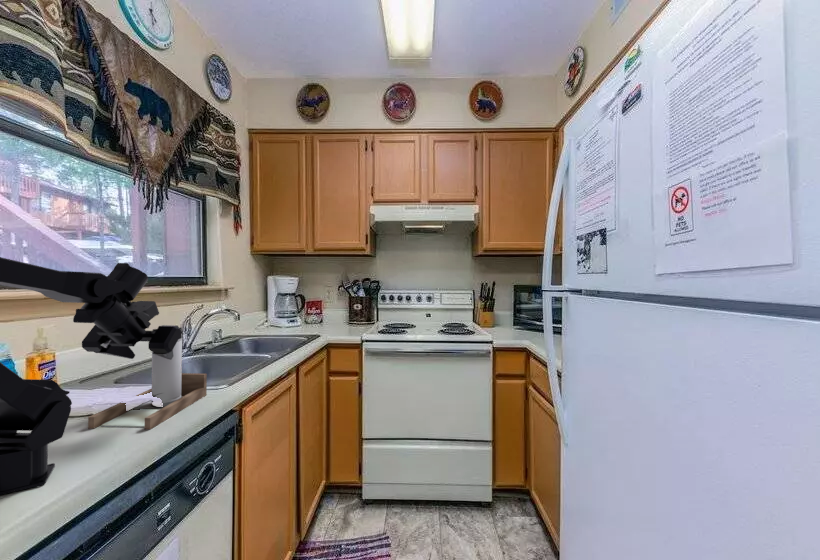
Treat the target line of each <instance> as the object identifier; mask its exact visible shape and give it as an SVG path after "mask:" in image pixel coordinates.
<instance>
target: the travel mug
mask: <svg viewBox="0 0 820 560" xmlns="http://www.w3.org/2000/svg"><path fill="white" fill-rule="evenodd" d="M179 328H180V329H181V331H182V332H183V328H182V327H179ZM156 330H157V328H154V329H152V330H151V331H156ZM173 355H174V356H173V358H172V360H169V359H166V358H163V357H160V356H158V355H155V354H153V352H152V351H151V388H152V396H153V397H157V398H160V399H161V400H162V403H163V407H162V408H164V407H166V406H167V405H169V404H171V403H173V402H175V401H176V400H178V399H180V398H182V396H181V382H182V373H183V372H182V370H183V369H182V368H183V367H182V362H183V361H182V359H183V335H182V334H181V336H180V338H179V339H178V341H177V343H176V345H175V346H174V348H173Z"/></svg>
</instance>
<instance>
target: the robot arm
mask: <svg viewBox="0 0 820 560" xmlns="http://www.w3.org/2000/svg"><path fill="white" fill-rule="evenodd" d="M148 281H149V276H148V275H147V273H146V272H143V271H142V270H140V269H139V268H136V267H134V266H130V264H129V263H128V262H118V263H117V264H116V265H115V266H114V267H113V269H112V270H111V272H110V273H109V274H108V275H107V276H106V275H105V273H104V274H103V273H101V272H89V271H87V272H86V271H72V270H71V271H65V270H57V269H53V268H49V267H44V266H39V265H36V264H31V263H27V262H24V261H18V260H14V259H11V258H10V259H9V258H6V257H1V256H0V286H3V287H4V286H5V287H10V288H16V289H22V290H29V291H34V292H36V293H40V294H42V295H43V296H44V297H46V298H49V299H52V300H55V301H58V302H59V303H74V304H76V303H77V304H78V303H80V304H81V303H82V304H83V305H82V306H81V307H80V308H76V309H75V314H74V315H73V318H72V319H73V320H72V322H73V323H76V324H94V325H93V327H92V328H91V329H90V330H89V332H88V333H87V334H86V336H85V337H84V338H83V340H82V341H81V348H83V350H85V352H88V353H89V352H90V353H95V354H102V355H107V356H114V357H120V358H124V359H129V360H130V359H131V360H133V359H135V357H136V354H135V353H134V351H133V350H132V349H131V347H135V346H136V345H137V343H139V342H147V343H148V350H150V352H151V353H152V352H153V354H155V355H158V356H160V357H163V358H166V359H169V360H172V358H173V356H174V355H173V348H174V346H175V345H176V343H177V341H178V339H179V338H180V336H181V335H182V334H183V330H182V331H181V329H180V328H181V327H180V326H179V325H172V324H171V325H165V324H164V325H159V326H158V327H157V328H156V329H157V330H156V331H152V330H146V329H149V328H150V326H151V325H152V324H151V322H150V321H151V320H152V319H153V318H155V317H156V316H159V314H160V311H159V308H158V305H157V302H156V301H155V300H138V301H133V300H135V298H136V297H137V296H138V294H139V293H140V292H141V290H142V289H143V288H144V286H145V285H146V284H147V282H148ZM68 395H70V391H68V390H64V389H63V388H62V387H61V386H60V385H59V384H58V382H56V381H55V380H53V379H37V378H36V379H32V378H31V379H30V378H28V379H27V378H25V379H24V378H23V377H21V376H20V375H18V374H17V373H15V372H14V371H13V370H11V369H10V368H8V366H6V365H5V364H4V363H2V362H1V361H0V496H3V495H6V494H11V493H14V492H18V491H22V490H23V491H24V490H27V489H31V488H35V487H40V486H43V485H45V484H46V483H47V482H48V480H49V478H50V476H51V474H52V473H53V471H54V469H55V467H56V463H54V462H53V463H49V461H48V458H49V457H48V455H49V454H48V452H49V449H48V447H49V444H51V443H54V442H55V441H57V440H59V439H61V438H63V436H64V434H65V429H66V427H67V423H68V421H69V417H70V414H71V410H72V404H73V401H72V399H71V398H70V397H69V396H68ZM18 431H21V432H18ZM22 431H29V432H22Z"/></svg>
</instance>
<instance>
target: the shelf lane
mask: <svg viewBox="0 0 820 560" xmlns="http://www.w3.org/2000/svg"><path fill="white" fill-rule="evenodd" d="M207 378H208V374H207V373H197V372H196V373H193V372H192V373H191V372H190V373H189V372H188V373H187V372H186V373H185V372H182V382H181V398H180V399H178V400H176V401H175V402H173V403H171V404H169V405H167V406H166V407H161V408H160V409H159V408H158V409H151V408H149V409H148V408H147V409H146V408H140V410H133V409H132V410H130V411H128V412H127V411H126V405H125V404H126V403H121V402H119V403H117V404H114V405H112V406H110V407H108V408H105V409H103V410H101V411H98V412H95V414H92V415H90V416H88V417H87V428H88V430H89V429H90V430H92V429H94V430H95V429H96V428H99V427H100V426H101V427H111V428H115V427H117V428H119V427H120V428H144V430H147V431H148V430H152V429H153V428H156V427H157V426H159V425H160V424H162V423H164V422H165V421H167V420H168V419H171V418H172V417H173V416H175V415H176V414H178V413H180V412H182V411H184V410H185V409H186V408H187V407H190V406H191V405H193V404H195V403H196V402H198V401H200V400H201V399H203V398H204V397H205V396H207V390H208V389H207V383H208V379H207ZM150 392H152V387H151V388H149V389H148V390H145V391H142V392H140V393H139V394H136V395H135V396H139V395H144V394H147V393H150Z"/></svg>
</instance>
